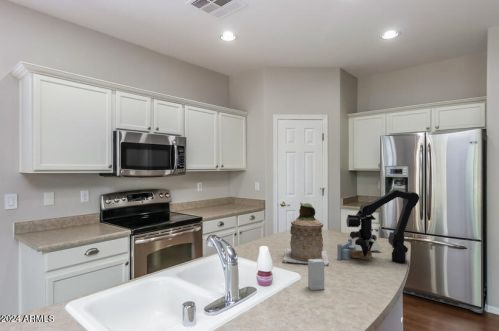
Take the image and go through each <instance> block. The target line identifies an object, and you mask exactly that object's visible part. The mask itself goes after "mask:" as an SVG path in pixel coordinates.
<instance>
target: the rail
mask: <svg viewBox="0 0 499 331" xmlns="http://www.w3.org/2000/svg"><path fill="white" fill-rule="evenodd" d="M372 258H373V253H372V251H368V252H367V255H366V256H364V254H363V251H361V250H350V259H366V260H367V259H368V260H370V259H372Z"/></svg>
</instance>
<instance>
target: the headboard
mask: <svg viewBox="0 0 499 331" xmlns="http://www.w3.org/2000/svg"><path fill="white" fill-rule="evenodd" d="M336 245H337V260H339V261H341V260H345V261H348V260H350V259H351V258H350V250H356V246H352V239H351V238H348V239H347V242H345V243H343V244H341V243H338V244H336Z"/></svg>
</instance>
